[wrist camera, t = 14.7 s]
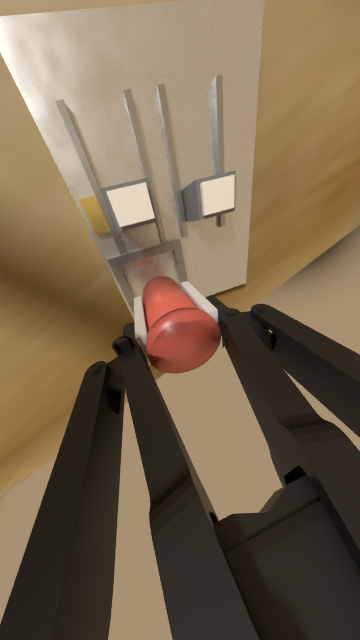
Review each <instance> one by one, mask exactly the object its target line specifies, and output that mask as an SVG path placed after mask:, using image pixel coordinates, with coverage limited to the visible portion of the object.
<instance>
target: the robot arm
mask: <svg viewBox="0 0 360 640" xmlns="http://www.w3.org/2000/svg"><path fill="white" fill-rule="evenodd" d="M181 287H182V290H183V291H184V292H185V293H186V294H187V296H188V297H189V298H190V299H191V300H192V302H193V303H194V304H195V305H196V306H197V308H198V309H201V310H203V311H205V312H207V313H208V314H209V315H210V316H211V317H212V318H213V319H214V320H215V322H216V323H217V324H218V326H219V328H220V331H221V335H222V342H223V343H222V344H223V347H224V345H225V348H226V350H227V352H228V354H229V357H230V359H231V361H232V363H233V366H234V368H235V370H236V373H237V375H238V377H239V379H240V382H241V384H242V386H243V388H244V391H245V393H246V395H247V398H248V400H249V402H250V404H251V407H252V409H253V411H254V414H255V416H256V418H257V420H258V423H259V425H260V427H261V429H262V432H263V434H264V436H265V439H266V441H267V443H268V446H269V449H270V454H271V458H272V461H273V464H274V467H275V469H276V472H277V474H278V476H279V479H280V481H281V483H282V486H283V488H281V489H279V490H277V491H275V492H274V494H273V495H272V496H271V497H270V499H269V500H268V501H267V503H266V504H265V505H264V507H263V508H262V509H261V511H260V512H259V513H242V514H232V515H230V516H228V517H226V518H224V519H222V520H220V521H219V520H218V517H217V516H216V513H215V511H214V509H213V506H212V504H211V502H210V500H209V498H208V496H207V494H206V491H205V489H204V487H203V485H202V483H201V481H200V479H199V477H198V475H197V473H196V470H195V468H194V466H193V464H192V462H191V459H190V457H189V455H188V453H187V450H186V449H185V446H184V444H183V442H182V439H181V437H180V435H179V433H178V430H177V428H176V426H175V424H174V422H173V419H172V417H171V415H170V413H169V411H168V409H167V406H166V404H165V402H164V399H163V397H162V395H161V393H160V390H159V388H158V386H157V384H156V381H155V379H154V377H153V375H152V373H151V370H150V368H149V366H148V364H147V361H148V363H149V364H151V363H150V361H149V359H148V356H147V349H146V337H147V334H148V326H147V320H146V314H145V308H144V302H143V300H142V297H141V296H139V297H136V298H134V321H135V322H133V323H130V324H127V325H126V326H125V328H124V331H123V333H124V334H123V335H122V336H120V337H118V338H117V339H116V340H115V341H114V342H113V343H112V348H113V349H114V351H115V352H116V354H117V355H118V357H116V358H115V359H114V360H112V361H110V362H109V363H107V364H106V363H105V362H104V361H100V362H97V363H94V364H93V365H92V366H90V367H89V368H88V369H87V371H86V373H85V375H84V378H83V381H82V384H81V387H80V390H79V393H78V396H77V399H76V402H75V404H74V407H73V410H72V413H71V416H70V419H69V422H68V425H67V428H66V431H65V434H64V437H63V440H62V443H61V446H60V449H59V452H58V455H57V458H56V461H55V464H54V467H53V470H52V473H51V476H50V479H49V482H48V484H47V488H46V490H45V493H44V496H43V499H42V502H41V506H40V508H39V511H38V514H37V517H36V520H35V523H34V526H33V529H32V532H31V535H30V538H29V541H28V544H27V547H26V550H25V553H24V556H23V559H22V562H21V565H20V568H19V570H18V574H17V576H16V579H15V582H14V586H13V588H12V591H11V594H10V597H9V600H8V603H7V606H6V609H5V612H4V615H3V618H2V621H1V624H0V640H108V635H109V627H110V619H111V607H112V595H113V584H114V567H115V566H114V565H115V550H116V549H115V548H116V533H117V516H118V498H119V482H120V465H121V464H120V463H121V448H122V430H123V414H124V397H125V389H126V394H127V398H128V402H129V406H130V411H131V416H132V420H133V424H134V429H135V433H136V438H137V442H138V446H139V451H140V455H141V459H142V464H143V468H144V472H145V477H146V482H147V486H148V490H149V495H150V512H149V519H150V528H151V535H152V541H153V545H154V550H155V555H156V560H157V565H158V570H159V575H160V580H161V585H162V590H163V595H164V600H165V605H166V610H167V614H168V619H169V624H170V629H171V634H172V639H173V640H360V451H359V450H358V449H357V447H356V446H355V445H354V444H353V443H352V441H351V440H350V439H349V438H348V437H347V436H346V435H345V433H344V432H343V431H342V430H341V429H340V428H338V427H337V426H336V425H335V424H333V423H331V422H328V421H326V420H324V419H322V418H321V417H320V416H319V415H318V414H317V413H316V411H315V410H314V409H313V408H312V406H311V405H310V404H309V402H308V401H307V400H306V398H305V397H304V396H303V394H302V393H301V392H300V391H299V389H298V388H297V387H296V385H295V384H294V383H293V381H292V380H291V379H290V377H289V376H288V375H287V373H288V374H290V375H291V376H292V377H293V378H294V379H295V380H296V381H297V382H298V383H300V384H301V385H302V386H303V387H304V388H305V389H307V391H308V392H310V393H311V394H312V395H313V396H314V397H315V398H316V399H318V401H320V402H321V403H322V404H323V405H324V406H325V407H326V408H327V409H328V410H330V411H331V412H332V413H333V414H334V415H335V416H336V417H337V418H338V419H340V420H341V421H342V422H343V423H344V424H345V425H346V426H347V427H348V428H350V429H351V430H352V431H353V432H354V433H355V434H356V435H357V436H359V437H360V355H359V354H357V353H356V352H354V351H352V350H350V349H348V348H346V347H345V346H343V345H341V344H339V343H337V342H335V341H334V340H332V339H330V338H328V337H326V336H324V335H323V334H321V333H319V332H317V331H315V330H313V329H311V328H310V327H308V326H306V325H304V324H302V323H300V322H299V321H297V320H295V319H293V318H291V317H289V316H288V315H286V314H284V313H282V312H280V311H278V310H276V309H275V308H273V307H271V306H269V305H266V304H256V305H254V306H252V308H251V311H248V312H240V311H238V310H237V309H233V308H228V307H226V306H225V305H224V304H223V303H222V302H220V301H219V300H218V299H217V298H216V297H213V296H208V297H204V296H203V295H202V294H201V293H200V292H198V291H197V290H196V289H195V288H194V287H193V286H192V285H191V284H190V283H189V282H188V281H185V282H182V283H181ZM269 330H271V331H272V332H273V333H270V332H269ZM284 370H285V371H286V372H287V373H286V372H285V371H284Z"/></svg>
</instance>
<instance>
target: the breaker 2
mask: <svg viewBox="0 0 360 640" xmlns="http://www.w3.org/2000/svg"><path fill="white" fill-rule="evenodd" d="M182 192H183V199H184V206H185V212H186V219H187V222H188V221H199V220H203V219H207V218H210V217H214V216H218V215H221V214H225V213H229V212H232V211H235V200H236V170H235V171H231V172H227V173H222V174H218V175H214V176H210V177H206V178H201V179H197V180H195V181H193V182H192V183H190V184H189V185H188V186H186V187H185V188H183V189H182Z"/></svg>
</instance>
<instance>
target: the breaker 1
mask: <svg viewBox="0 0 360 640" xmlns="http://www.w3.org/2000/svg"><path fill="white" fill-rule="evenodd" d="M100 191H101V193H102V196H103V198H104V200H105V203H106V205H107V208H108V210H109V213H110V215H111V218H112V220H113V223H114V225H115V228H116V230H117V232H120V231H124V230H127V229H131V228H135V227H139V226H143V225H146V224H150V223H154V222H158V221H159V218H158V214H157V209H156V205H155V201H154V197H153V193H152V189H151V185H150V181H149V177H148V178H144V179H140V180H135V181H131V182H126V183H122V184H118V185H113V186H109V187H104V188H100Z"/></svg>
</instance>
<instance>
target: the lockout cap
mask: <svg viewBox="0 0 360 640" xmlns="http://www.w3.org/2000/svg"><path fill="white" fill-rule="evenodd" d="M143 302H144V308H145V314H146V320H147V326H148V334H147V337H146V349H147V356H148V359H149V361H150V363H151V364H152V365H153V366H154V367H155V368H156V369H158V370H160V371H162V372H166V373H183V372H187V371H190V370H193V369H195V368H197V367H199V366H201V365H203V364H204V363H205V362H207V361H208V360H209V359H210V358H211V357H212V356H213V355H214V353H215V352H216V350H217V349H218V346H219V344H220V340H221V331H220V328H219V326H218V324H217V323H216V322H215V320H214V319H213V318H212V317H211V316H210V315H209V314H208V313H207V312H205V311H203V310H201V309H198V308H197V306H196V305H195V304H194V303H193V302H192V300H191V299H190V298H189V297H188V296H187V294H186V293H185V292H184V291H183V290H182V288H181V287H180V286H179V285H178V284H177V282H176V281H175V280H173V279H172V278H170V277H167V276H158V277H155V278H152V279H151V280H149V281H148V282H147V284H146V285H145V287H144V289H143Z"/></svg>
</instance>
